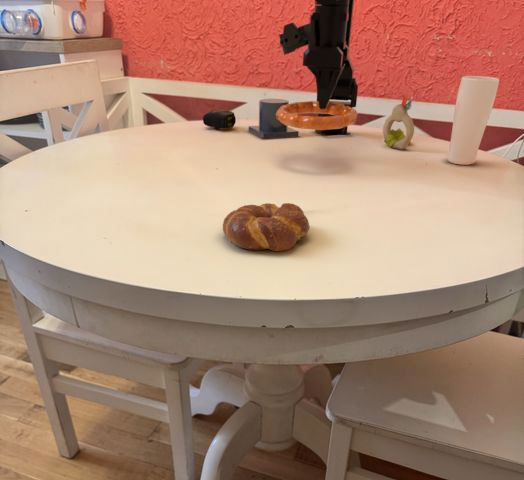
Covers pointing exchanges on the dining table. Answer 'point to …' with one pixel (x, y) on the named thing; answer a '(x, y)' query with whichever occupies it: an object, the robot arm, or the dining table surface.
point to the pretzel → (266, 226)
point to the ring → (290, 117)
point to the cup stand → (271, 121)
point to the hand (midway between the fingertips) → (323, 107)
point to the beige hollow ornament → (397, 137)
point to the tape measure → (219, 119)
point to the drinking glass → (471, 117)
